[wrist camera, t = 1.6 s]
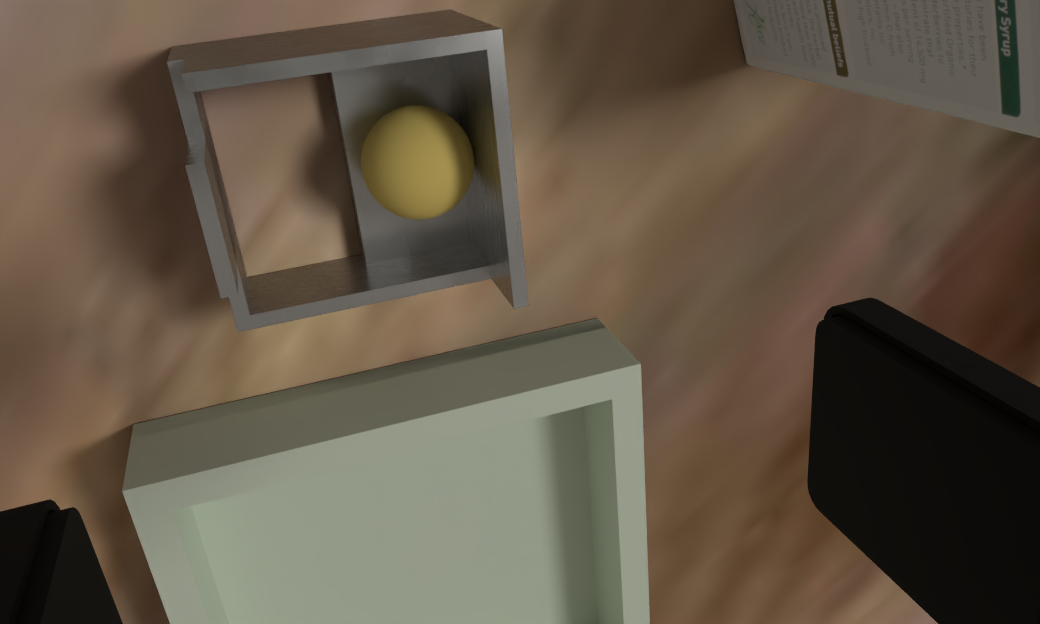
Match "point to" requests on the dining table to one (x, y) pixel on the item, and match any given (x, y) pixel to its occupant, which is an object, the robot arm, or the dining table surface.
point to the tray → (408, 493)
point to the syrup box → (908, 52)
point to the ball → (417, 162)
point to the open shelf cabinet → (359, 106)
